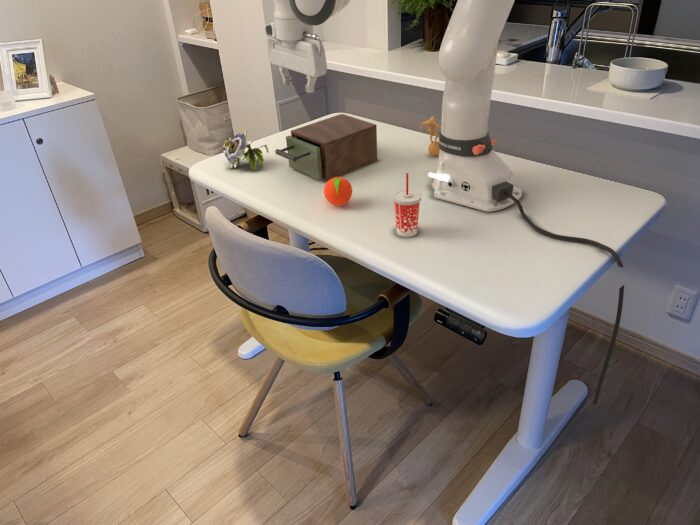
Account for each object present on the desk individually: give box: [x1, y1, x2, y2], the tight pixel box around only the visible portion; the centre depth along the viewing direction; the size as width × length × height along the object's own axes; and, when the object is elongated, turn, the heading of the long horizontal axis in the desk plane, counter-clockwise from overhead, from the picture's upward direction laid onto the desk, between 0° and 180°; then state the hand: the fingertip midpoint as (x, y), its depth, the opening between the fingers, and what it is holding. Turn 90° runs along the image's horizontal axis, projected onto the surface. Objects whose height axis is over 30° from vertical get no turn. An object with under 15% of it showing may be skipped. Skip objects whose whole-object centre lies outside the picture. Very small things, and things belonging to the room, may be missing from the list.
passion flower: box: [222, 129, 269, 172], centre depth 156 cm, size 11×11×12 cm
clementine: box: [323, 176, 353, 207], centre depth 132 cm, size 8×7×7 cm
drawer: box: [274, 135, 325, 181], centre depth 150 cm, size 23×13×9 cm, turn 131°
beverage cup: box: [392, 172, 422, 238], centre depth 118 cm, size 6×6×14 cm
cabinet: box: [290, 113, 378, 182], centre depth 153 cm, size 19×15×11 cm
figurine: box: [419, 115, 441, 157], centre depth 153 cm, size 8×6×12 cm
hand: (298, 88), depth 137 cm, fingers open, 8 cm apart
